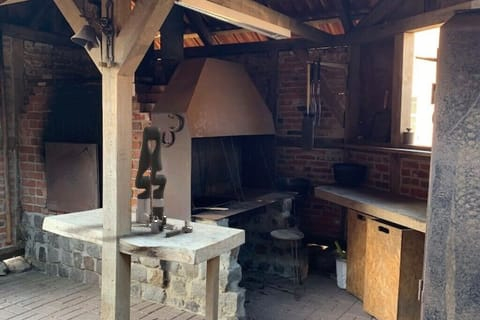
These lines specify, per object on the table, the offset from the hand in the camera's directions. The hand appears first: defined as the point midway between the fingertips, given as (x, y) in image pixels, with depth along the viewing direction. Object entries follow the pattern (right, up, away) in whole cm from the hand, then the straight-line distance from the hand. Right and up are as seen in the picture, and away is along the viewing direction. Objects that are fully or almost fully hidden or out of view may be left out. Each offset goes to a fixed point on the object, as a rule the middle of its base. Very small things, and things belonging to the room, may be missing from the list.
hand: (157, 230), depth 288 cm
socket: (0, -1, 0) cm, 1 cm away
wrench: (-2, 0, +15) cm, 15 cm away
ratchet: (+15, -1, -3) cm, 15 cm away
